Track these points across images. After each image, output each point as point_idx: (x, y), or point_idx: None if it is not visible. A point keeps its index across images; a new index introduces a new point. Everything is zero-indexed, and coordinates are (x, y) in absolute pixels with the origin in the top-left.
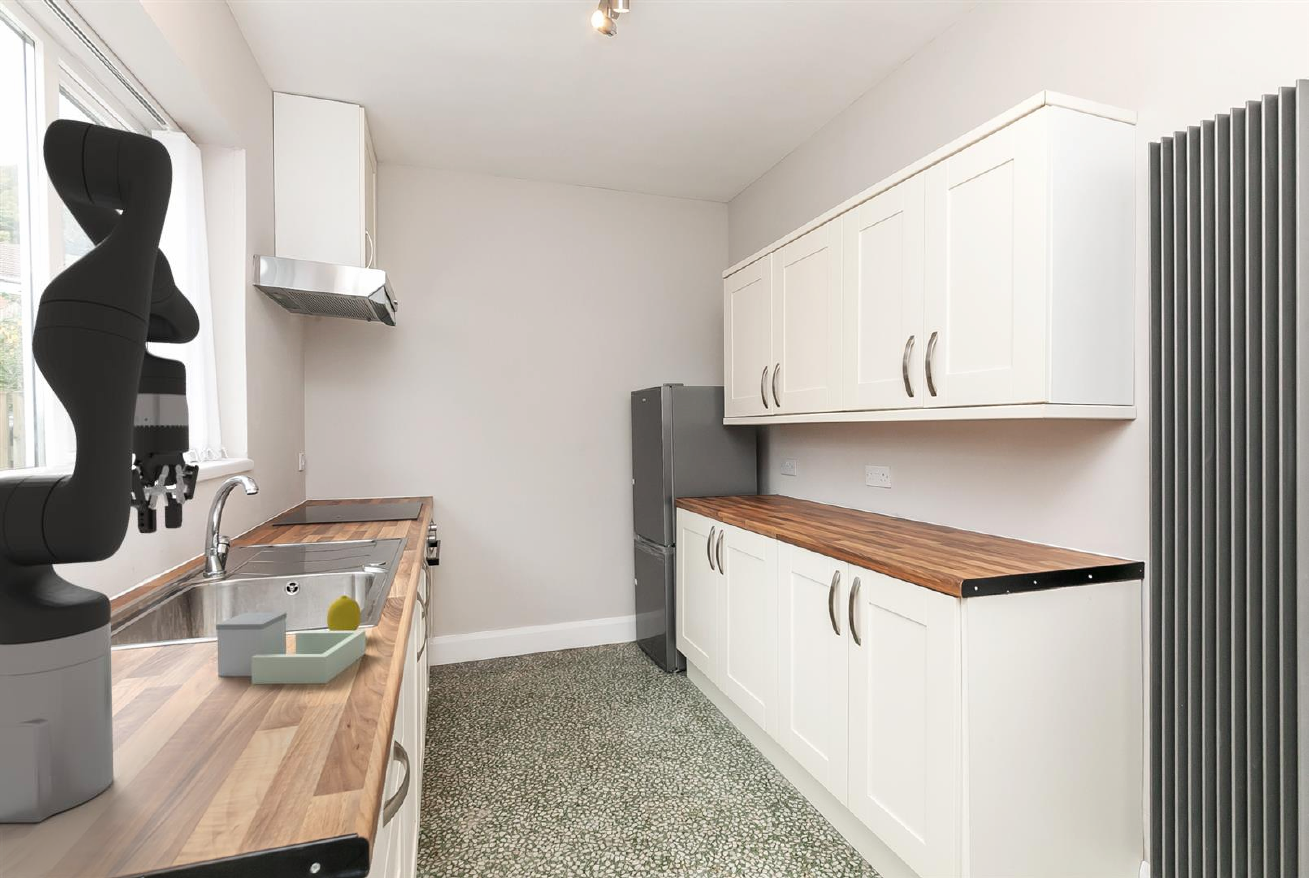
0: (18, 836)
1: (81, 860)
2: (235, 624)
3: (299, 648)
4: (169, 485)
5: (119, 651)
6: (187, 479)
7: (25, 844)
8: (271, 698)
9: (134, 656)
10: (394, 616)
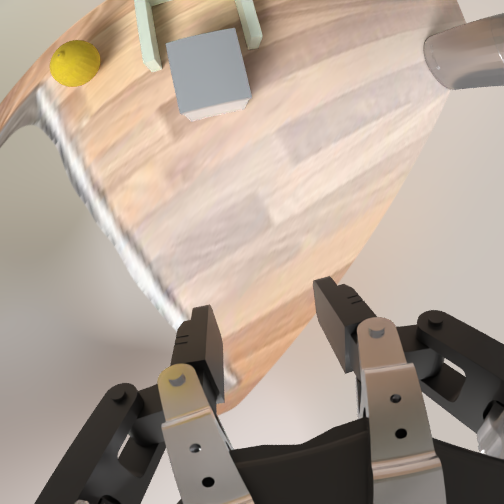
0: None
1: (459, 11)
2: (244, 66)
3: (158, 61)
4: (274, 447)
5: None
6: (106, 483)
7: None
8: (287, 5)
9: (210, 291)
10: (10, 98)
